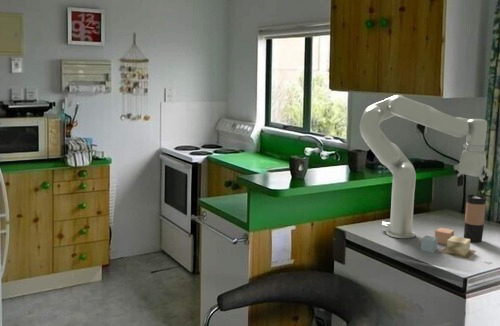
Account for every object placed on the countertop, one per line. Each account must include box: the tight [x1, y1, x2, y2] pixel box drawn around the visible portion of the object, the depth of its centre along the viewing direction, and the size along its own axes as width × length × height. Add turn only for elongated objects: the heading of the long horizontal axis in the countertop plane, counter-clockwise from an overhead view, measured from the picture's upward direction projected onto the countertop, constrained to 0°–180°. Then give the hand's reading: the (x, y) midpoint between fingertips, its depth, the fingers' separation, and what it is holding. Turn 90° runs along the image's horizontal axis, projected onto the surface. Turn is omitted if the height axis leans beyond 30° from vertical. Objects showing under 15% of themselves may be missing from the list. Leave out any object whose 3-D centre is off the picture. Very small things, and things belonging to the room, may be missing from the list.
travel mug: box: [463, 194, 487, 244], centre depth 243 cm, size 8×8×20 cm
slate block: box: [420, 235, 439, 254], centre depth 231 cm, size 5×5×6 cm
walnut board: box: [439, 246, 476, 259], centre depth 230 cm, size 11×11×1 cm
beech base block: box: [446, 235, 471, 256], centre depth 229 cm, size 7×7×5 cm
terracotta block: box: [434, 227, 455, 246], centre depth 242 cm, size 6×6×6 cm
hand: (470, 188), depth 244 cm, fingers open, 9 cm apart
